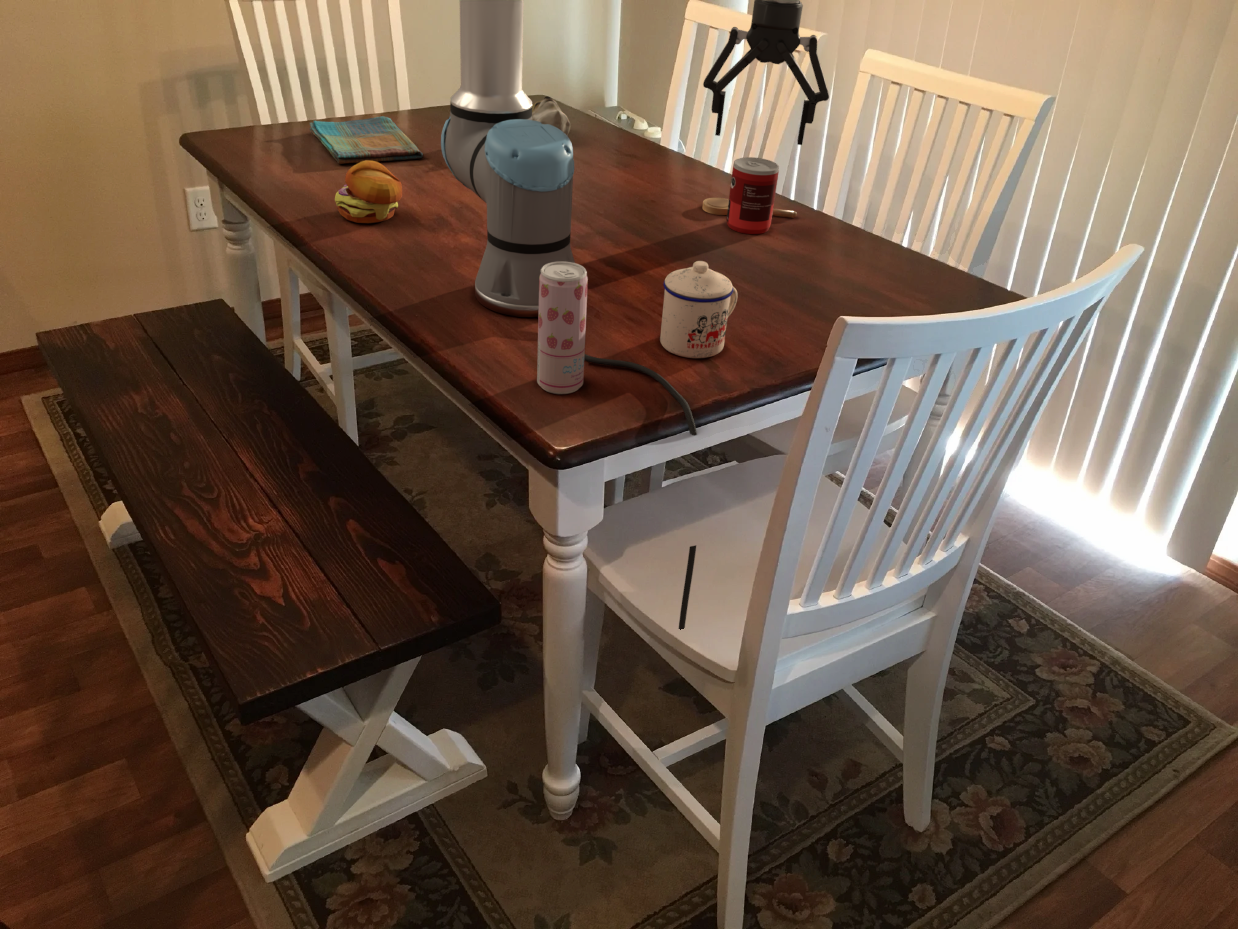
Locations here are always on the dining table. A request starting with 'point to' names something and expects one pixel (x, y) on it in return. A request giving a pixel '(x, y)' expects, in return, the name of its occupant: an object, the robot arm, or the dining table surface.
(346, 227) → the dining table surface
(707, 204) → the spoon
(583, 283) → the beverage can
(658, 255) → the dining table surface
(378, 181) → the cheeseburger
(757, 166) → the canned food
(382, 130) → the dish towel
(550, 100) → the ceramic sculpture
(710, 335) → the teacup with lid
